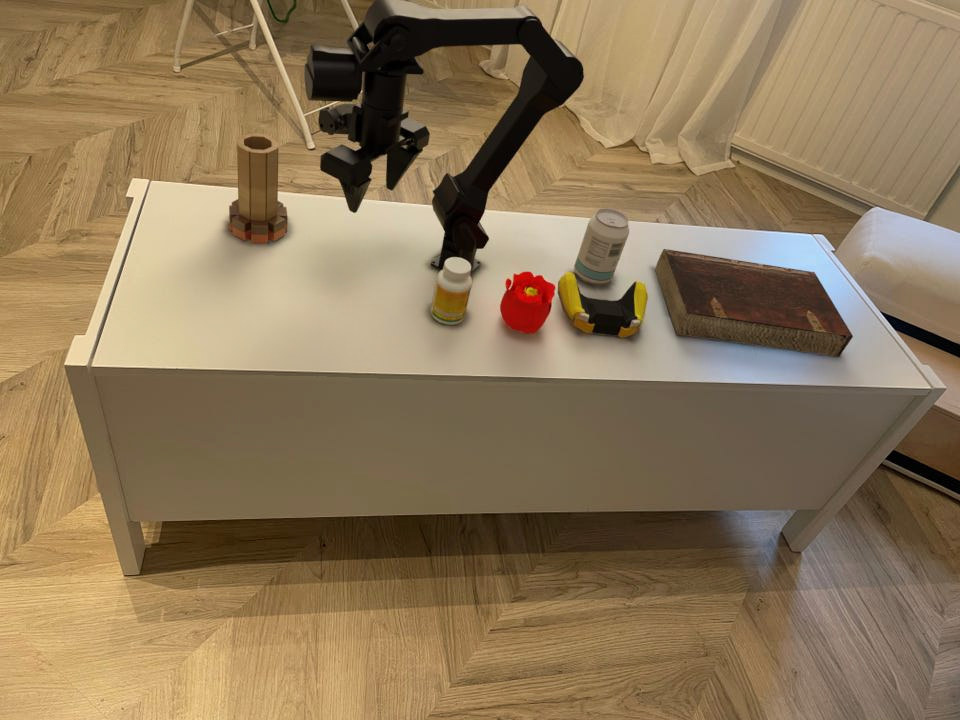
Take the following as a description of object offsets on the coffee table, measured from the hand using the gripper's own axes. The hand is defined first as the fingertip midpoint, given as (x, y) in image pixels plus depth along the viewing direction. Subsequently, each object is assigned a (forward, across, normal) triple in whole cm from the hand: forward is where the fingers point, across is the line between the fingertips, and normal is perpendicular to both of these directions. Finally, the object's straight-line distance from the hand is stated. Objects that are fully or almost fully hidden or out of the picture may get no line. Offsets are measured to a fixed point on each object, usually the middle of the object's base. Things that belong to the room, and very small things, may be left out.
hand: (371, 200), depth 116 cm
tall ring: (+10, +3, -19) cm, 22 cm away
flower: (+13, -6, +26) cm, 30 cm away
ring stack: (+13, +3, -19) cm, 24 cm away
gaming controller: (+13, -17, +35) cm, 41 cm away
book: (+13, -38, +54) cm, 67 cm away
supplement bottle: (+13, 0, +16) cm, 21 cm away
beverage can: (+13, -27, +29) cm, 42 cm away
